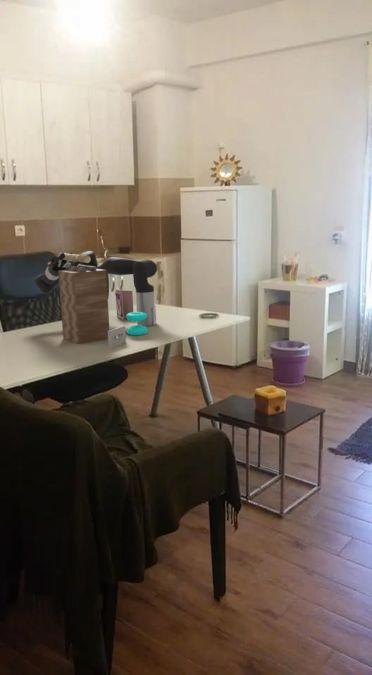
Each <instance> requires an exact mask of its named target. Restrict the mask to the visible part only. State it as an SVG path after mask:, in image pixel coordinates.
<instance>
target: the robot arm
mask: <svg viewBox="0 0 372 675" xmlns="http://www.w3.org/2000/svg"><path fill="white" fill-rule="evenodd" d="M61 253H62V254H60V253H59V254H60V256H54V257H52V258H51V259H49V260H47V261H46V262H47V265H48V266H47V267H46V268H45V271H44V272H43V273H41V274H39V275H37V276H35V277H34V278H35V279H34V283H35V285H36V286H37V287H38V289H39V291H40V293H42V294H43V295H49V294H50V293H52V292H53V290H55V289H56V287H57V286H59V274H58V271H61V270H68V266H76V267H78V265H85V266H93V267H96V269H103V270H106V275H107V274H109V275H114V276H115V275H116V276H129V275H132V276H133V278H132V279H133V285H134V287H135V298H136V301H135V302H136V312H144V313H146V314H147V318H146V319H145V320H143V321H139V322H136V323H137V325H141V326H145V327H151V326H153V327H154V326H156V324H157V312H156V309H157V308H156V305H155V287H154V285H152V284H151V283H149V279H148V278H152V277H153V276H155V275H156V274H157V272H158V267H157V266H158V265H157V264H156V263H155V261H153V260H152V259H132V258H131V259H130V258H125V257H119V256H118V257H117V256H111V257H108V258H107V259H105V260H104V261H103V263H101V264H98V260H97V256H96V253H95V252H94V251H93V250H87V251H84V252H82V253H79V255H86V256H90V258H91V261H90V262H89V263H84V262H76V261H68V260H63V258H64V257H65V254H64V253H65V252H61ZM67 254H73V252H72V251H68V253H67Z"/></svg>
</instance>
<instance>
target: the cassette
mask: <svg viewBox="0 0 372 675" xmlns="http://www.w3.org/2000/svg"><path fill="white" fill-rule="evenodd" d="M126 339H127V338H126V326H125V325H121V326H118V327H115V328H112V329H110V330H108V339H107V342H108V343H107V345H108V348H109V349H111V348H115V347H118V346H121V345H123V344H125V343H127V340H126Z"/></svg>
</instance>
